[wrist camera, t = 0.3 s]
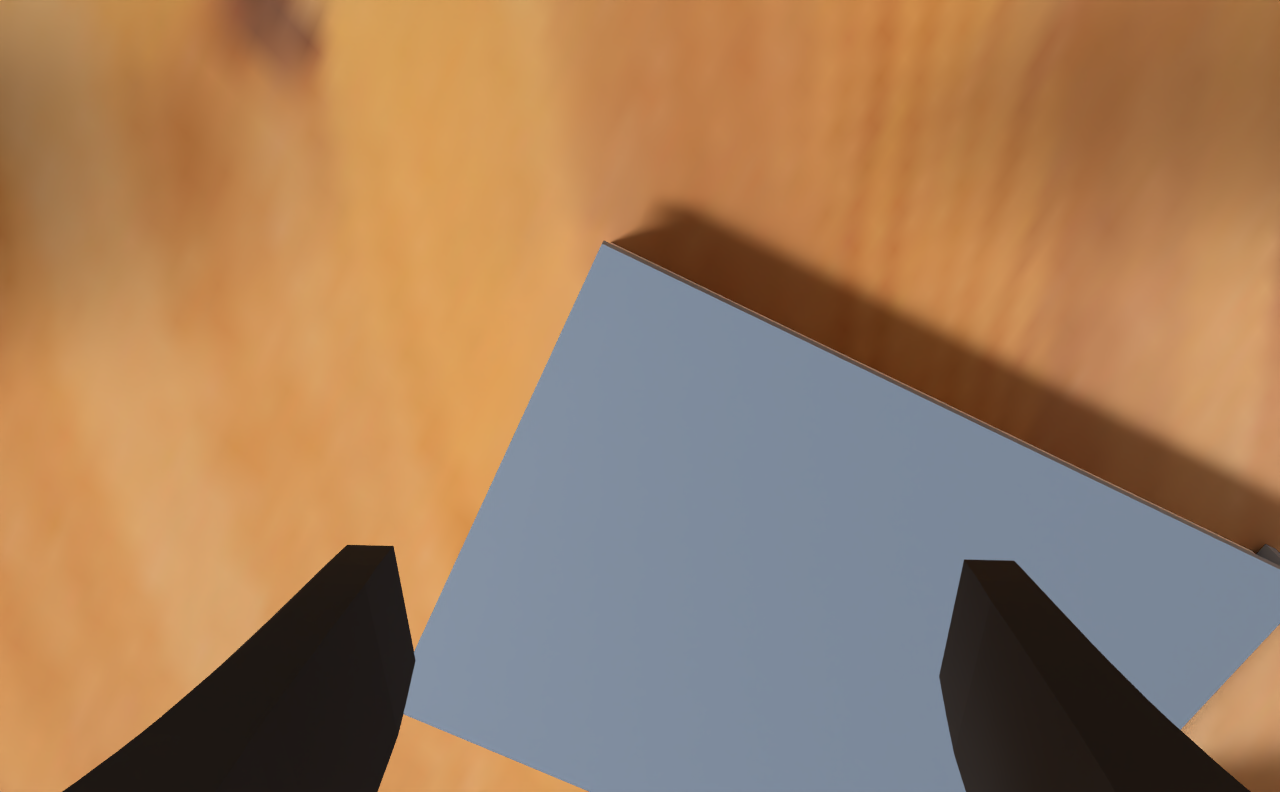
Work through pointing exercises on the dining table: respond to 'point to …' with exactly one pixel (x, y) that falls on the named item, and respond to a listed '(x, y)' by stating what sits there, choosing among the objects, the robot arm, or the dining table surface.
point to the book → (781, 562)
